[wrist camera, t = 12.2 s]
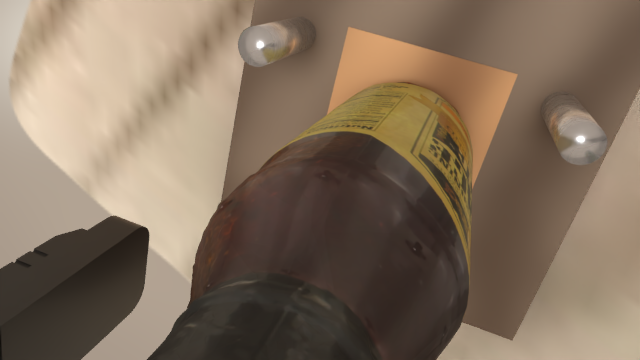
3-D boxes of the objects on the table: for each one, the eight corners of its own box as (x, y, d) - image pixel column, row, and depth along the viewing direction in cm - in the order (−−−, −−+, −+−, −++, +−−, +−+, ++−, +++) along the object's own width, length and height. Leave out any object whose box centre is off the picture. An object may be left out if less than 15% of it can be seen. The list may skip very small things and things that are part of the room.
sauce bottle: (462, 218, 23) (410, 991, 5) (329, 197, 25) (-49, 750, 7) (485, 74, 21) (532, 623, 3) (337, 60, 22) (-219, 374, 5)
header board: (671, 1, 19) (683, 3, 18) (510, 325, 26) (512, 341, 25) (281, -95, 22) (270, -99, 21) (226, 221, 29) (215, 231, 27)
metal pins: (585, 97, 20) (615, 130, 16) (484, 315, 25) (485, 388, 20) (289, 13, 22) (241, 21, 18) (247, 228, 27) (200, 278, 22)
